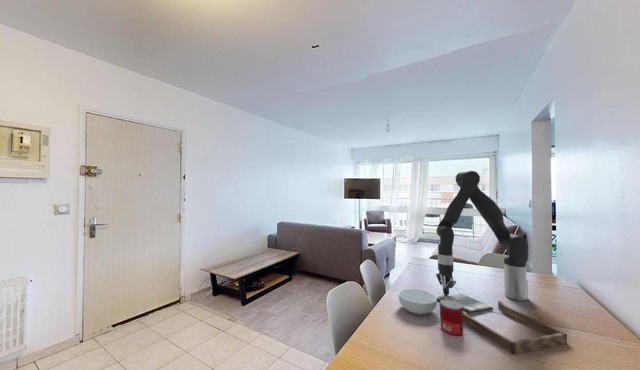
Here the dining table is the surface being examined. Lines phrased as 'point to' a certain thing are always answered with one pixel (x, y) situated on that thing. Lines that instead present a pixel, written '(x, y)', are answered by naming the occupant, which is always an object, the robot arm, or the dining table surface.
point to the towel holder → (517, 347)
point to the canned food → (451, 317)
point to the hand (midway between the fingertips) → (446, 294)
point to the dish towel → (468, 304)
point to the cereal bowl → (417, 301)
